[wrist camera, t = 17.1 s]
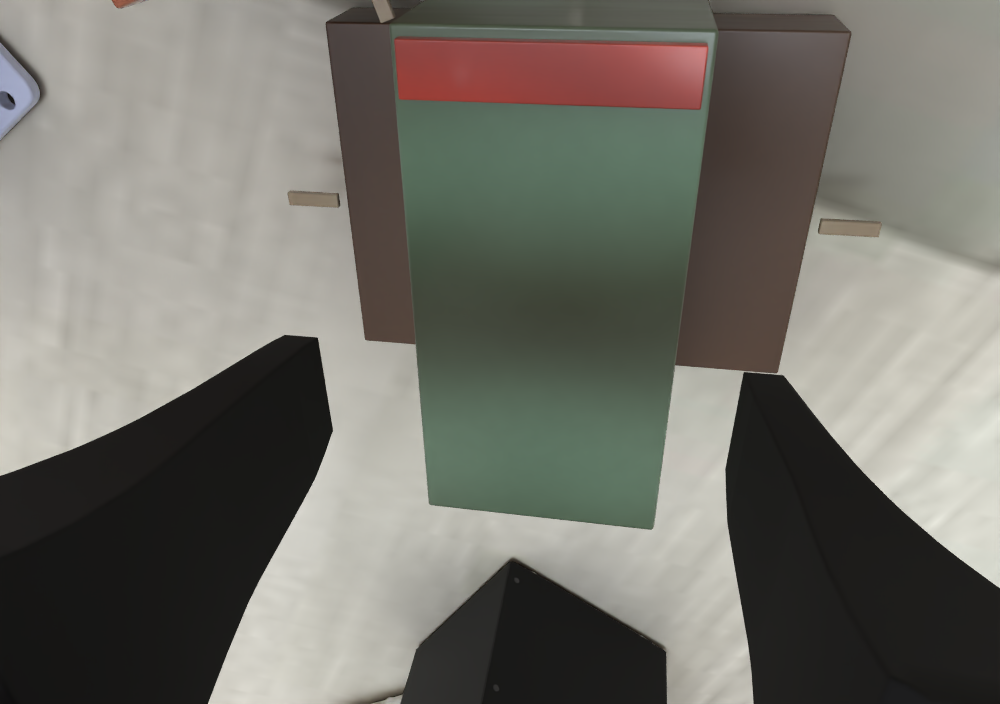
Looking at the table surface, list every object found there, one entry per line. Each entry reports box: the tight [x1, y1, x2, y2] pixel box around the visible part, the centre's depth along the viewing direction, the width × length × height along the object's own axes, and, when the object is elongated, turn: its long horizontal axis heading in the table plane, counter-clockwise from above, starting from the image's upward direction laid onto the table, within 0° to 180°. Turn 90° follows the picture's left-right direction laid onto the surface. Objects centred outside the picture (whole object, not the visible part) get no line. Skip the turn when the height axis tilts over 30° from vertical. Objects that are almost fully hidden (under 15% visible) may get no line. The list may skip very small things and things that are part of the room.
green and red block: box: [389, 0, 719, 530], centre depth 18 cm, size 11×5×6 cm, turn 0°
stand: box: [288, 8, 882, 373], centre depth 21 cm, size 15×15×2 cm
